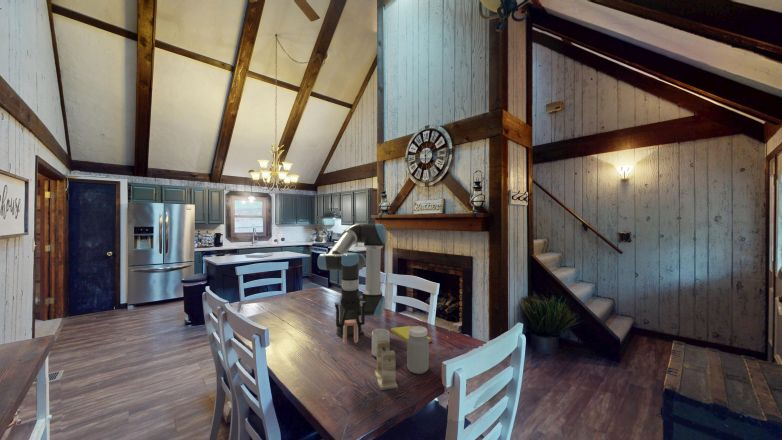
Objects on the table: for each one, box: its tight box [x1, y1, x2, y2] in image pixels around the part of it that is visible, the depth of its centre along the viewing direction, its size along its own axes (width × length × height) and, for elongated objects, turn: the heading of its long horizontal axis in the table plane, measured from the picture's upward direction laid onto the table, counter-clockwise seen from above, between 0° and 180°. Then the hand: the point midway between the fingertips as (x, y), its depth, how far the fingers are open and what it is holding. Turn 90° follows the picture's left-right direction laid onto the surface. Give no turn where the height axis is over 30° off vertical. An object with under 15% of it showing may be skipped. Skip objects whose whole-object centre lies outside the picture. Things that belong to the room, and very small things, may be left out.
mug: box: [371, 328, 391, 358], centre depth 146 cm, size 12×9×11 cm
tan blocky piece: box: [374, 340, 399, 391], centre depth 122 cm, size 14×7×14 cm, turn 13°
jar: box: [406, 325, 430, 375], centre depth 131 cm, size 10×10×18 cm
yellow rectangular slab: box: [390, 325, 433, 343], centre depth 168 cm, size 12×2×24 cm
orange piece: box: [344, 319, 357, 345], centre depth 128 cm, size 5×4×9 cm
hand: (350, 340), depth 128 cm, fingers closed on orange piece, 5 cm apart
